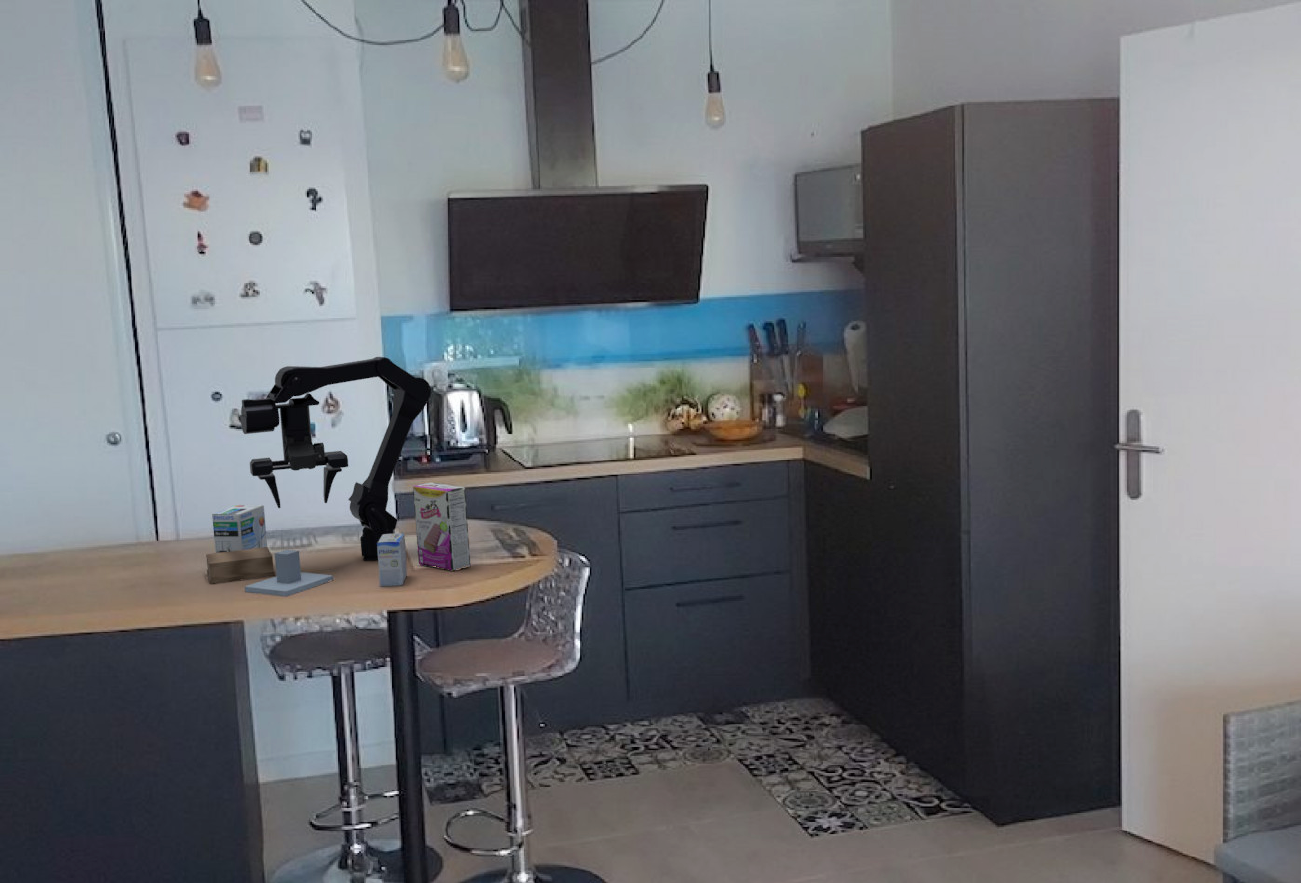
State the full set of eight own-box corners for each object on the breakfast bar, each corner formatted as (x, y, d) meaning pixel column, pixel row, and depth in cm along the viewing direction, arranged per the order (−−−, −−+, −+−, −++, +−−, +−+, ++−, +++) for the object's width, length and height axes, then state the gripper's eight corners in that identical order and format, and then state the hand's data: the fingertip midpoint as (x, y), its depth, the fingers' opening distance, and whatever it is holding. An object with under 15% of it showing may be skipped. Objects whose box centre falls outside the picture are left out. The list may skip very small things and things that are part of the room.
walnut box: (269, 565, 267) (268, 546, 266) (274, 575, 257) (273, 556, 257) (207, 573, 262) (205, 554, 262) (210, 584, 253) (208, 564, 252)
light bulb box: (244, 564, 269) (239, 513, 268) (215, 564, 271) (210, 514, 269) (269, 552, 280) (264, 504, 278) (240, 552, 281) (236, 504, 280)
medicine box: (384, 577, 251) (381, 534, 250) (407, 576, 252) (404, 532, 251) (379, 587, 244) (376, 542, 243) (403, 585, 244) (400, 540, 243)
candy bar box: (417, 565, 260) (411, 485, 258) (436, 560, 264) (430, 481, 262) (452, 572, 253) (446, 490, 251) (471, 567, 257) (466, 486, 254)
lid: (293, 578, 256) (290, 543, 255) (333, 583, 251) (330, 546, 250) (245, 594, 245) (242, 557, 244) (286, 599, 240) (283, 561, 239)
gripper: (251, 437, 248) (258, 517, 250) (349, 428, 255) (355, 506, 257) (246, 431, 258) (253, 508, 260) (340, 423, 265) (346, 498, 267)
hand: (302, 505), depth 261 cm, fingers open, 9 cm apart
